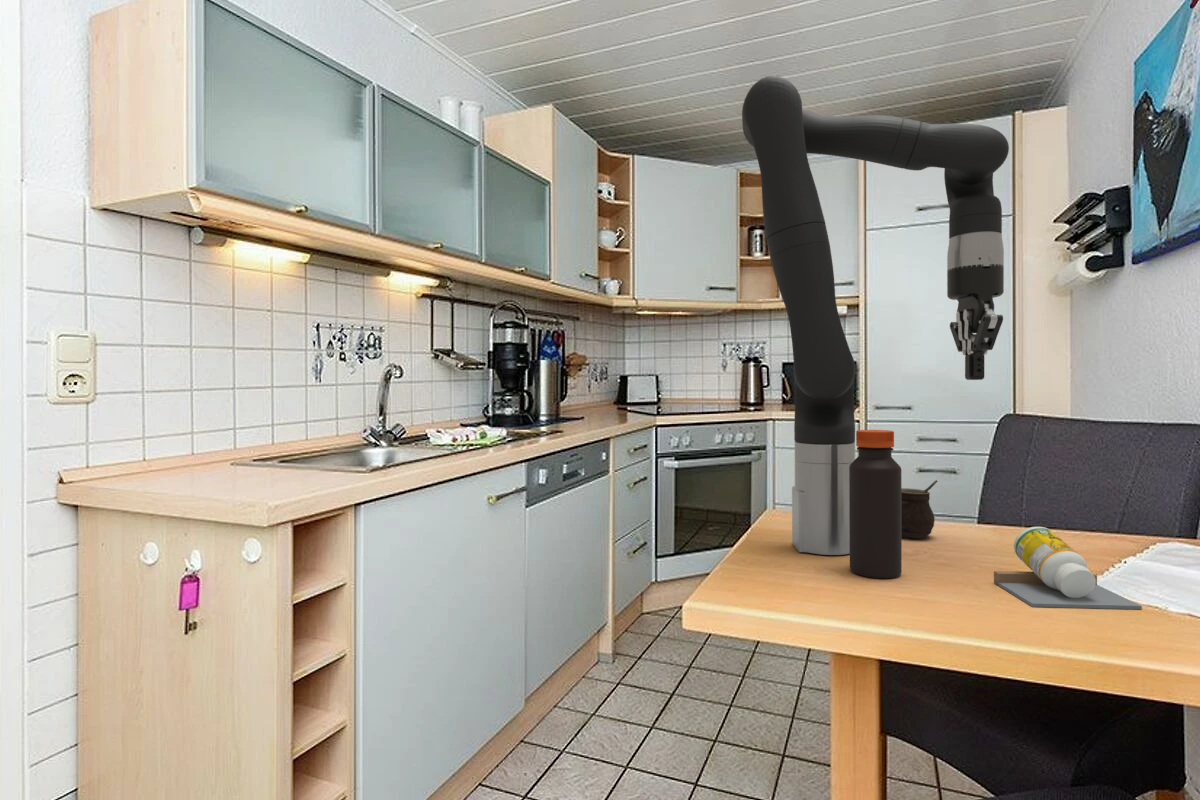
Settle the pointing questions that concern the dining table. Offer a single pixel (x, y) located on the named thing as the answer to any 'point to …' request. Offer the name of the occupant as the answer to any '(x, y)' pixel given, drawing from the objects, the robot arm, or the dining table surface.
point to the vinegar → (875, 507)
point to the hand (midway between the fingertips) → (974, 379)
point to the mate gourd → (916, 513)
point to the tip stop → (1057, 593)
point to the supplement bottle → (1054, 562)
